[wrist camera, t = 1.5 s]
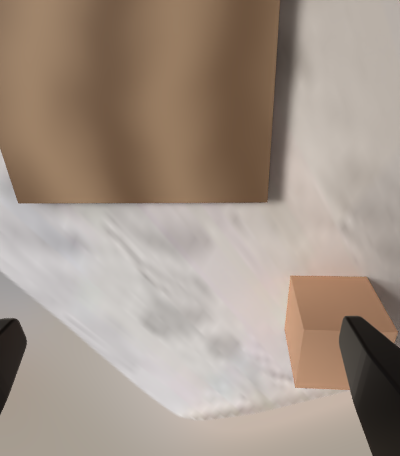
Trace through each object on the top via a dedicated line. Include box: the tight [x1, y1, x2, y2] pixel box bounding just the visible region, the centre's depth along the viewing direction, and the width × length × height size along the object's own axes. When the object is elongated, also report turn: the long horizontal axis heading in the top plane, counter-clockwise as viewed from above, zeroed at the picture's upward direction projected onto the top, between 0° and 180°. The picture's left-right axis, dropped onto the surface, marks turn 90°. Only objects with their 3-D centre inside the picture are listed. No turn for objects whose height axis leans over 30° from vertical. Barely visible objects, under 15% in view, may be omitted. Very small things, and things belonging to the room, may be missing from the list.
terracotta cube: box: [285, 276, 398, 390], centre depth 22 cm, size 5×5×5 cm
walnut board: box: [0, 0, 280, 203], centre depth 17 cm, size 15×15×1 cm
